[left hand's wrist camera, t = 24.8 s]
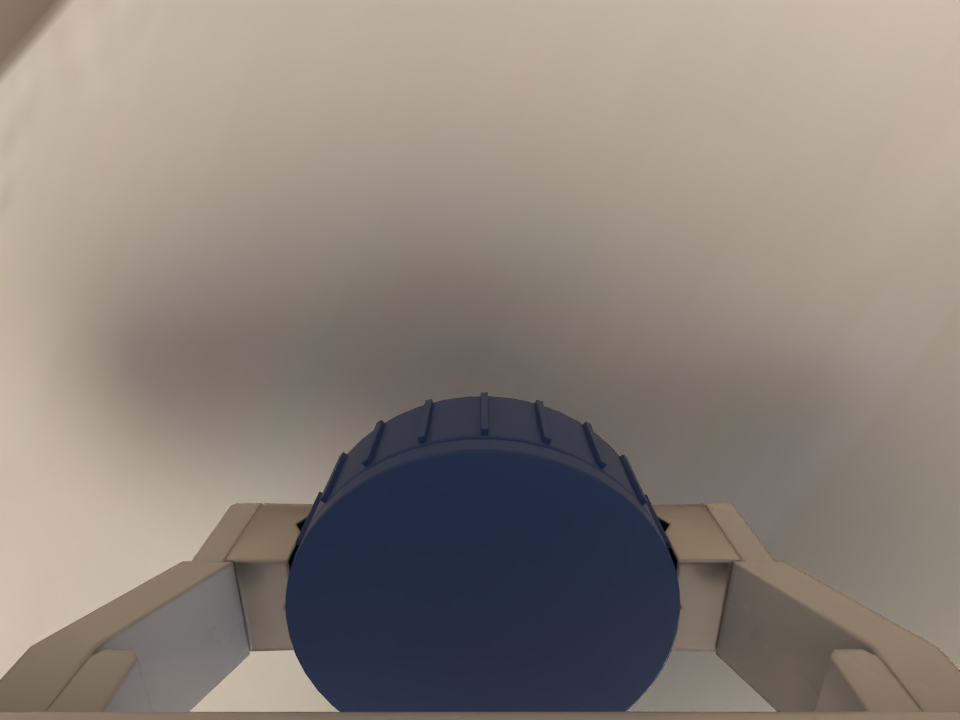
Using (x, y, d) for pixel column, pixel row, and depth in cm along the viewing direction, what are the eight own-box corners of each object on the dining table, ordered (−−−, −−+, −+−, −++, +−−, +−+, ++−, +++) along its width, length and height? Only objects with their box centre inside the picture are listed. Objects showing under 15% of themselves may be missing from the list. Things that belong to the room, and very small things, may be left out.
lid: (357, 344, 9) (327, 390, 7) (708, 447, 10) (759, 513, 8) (284, 627, 11) (247, 717, 9) (579, 697, 12) (596, 794, 10)
